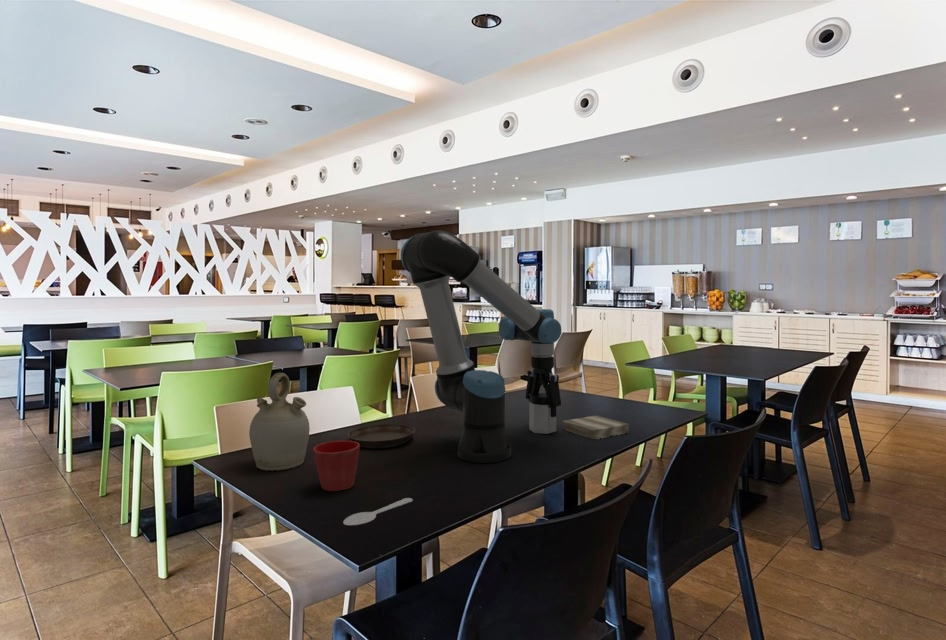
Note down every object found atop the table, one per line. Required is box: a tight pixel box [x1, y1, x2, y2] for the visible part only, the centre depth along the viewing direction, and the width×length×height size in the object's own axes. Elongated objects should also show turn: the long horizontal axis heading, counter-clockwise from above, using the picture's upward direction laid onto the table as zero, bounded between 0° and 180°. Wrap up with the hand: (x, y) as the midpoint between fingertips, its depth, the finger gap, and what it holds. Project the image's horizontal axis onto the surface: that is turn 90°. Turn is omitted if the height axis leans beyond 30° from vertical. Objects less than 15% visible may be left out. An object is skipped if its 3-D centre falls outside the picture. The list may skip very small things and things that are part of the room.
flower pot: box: [313, 440, 361, 492], centre depth 133 cm, size 11×11×10 cm
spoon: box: [342, 497, 414, 526], centre depth 118 cm, size 5×18×1 cm, turn 139°
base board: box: [562, 414, 630, 441], centre depth 183 cm, size 15×15×3 cm
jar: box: [528, 392, 557, 435], centre depth 184 cm, size 9×8×12 cm
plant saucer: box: [347, 423, 416, 449], centre depth 173 cm, size 21×21×3 cm
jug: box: [248, 372, 310, 472], centre depth 150 cm, size 15×16×25 cm
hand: (542, 423), depth 184 cm, fingers closed on jar, 9 cm apart
